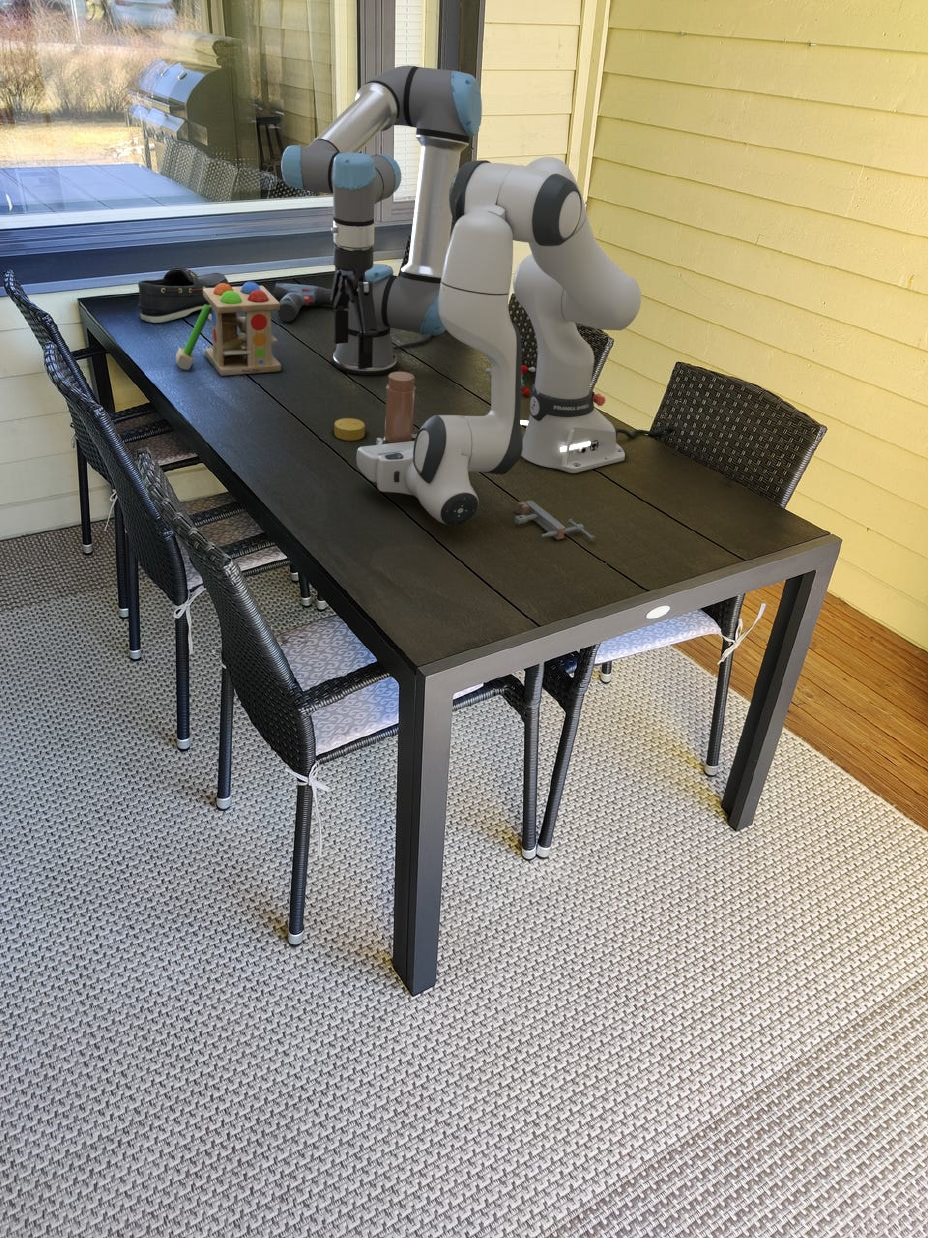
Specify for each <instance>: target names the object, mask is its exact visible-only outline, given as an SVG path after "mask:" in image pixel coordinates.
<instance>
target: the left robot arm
mask: <svg viewBox="0 0 928 1238" xmlns="http://www.w3.org/2000/svg"><path fill="white" fill-rule="evenodd" d="M482 102H483V101H482V94H481V88H480V84H479V83H478V80H477V78H476V77H475V76H474V75H472V74H470V73H467V72H462V71H457V70H454V69H453V70H450V69H442V68H441V69H440V68H432V67H422V66H416V65H408V64H407V65H401V66H396V67H393V68H389V69H386V70H385V71H383V72H381V73H379V74H377V75H375V76H373V77H372V78H371V79H369V80H368V81H366V82H365V83H364V84H363V85H362V86H361V87H359V89H358V90H357V92H356V95H355V100H354V101H353V102H352V103H351V104H350V105H349V106H348V107H346V108H345V110H343V112H342V113H340V114H339V115H338V116H337V117H336V118H335V119H334V120H333V121H332V122H331V123H330V124H329V125H328V126H327V127H325V128H324V129H323V131H322V132H320V133H319V135H317V137H316V138H314V139H313V140H312V142H310V143H309V144H308V145H307V146H303V145H302V144H299V145H289V146H287V147H286V148H285V150H284V151H283V154H282V157H281V165H280V167H281V176H282V179H283V181H284V183H285V184H286V185H287V186H288V187H291V188H294V189H299V190H302V191H308V192H316V193H322V194H328V195H332V196H333V197H332V198H333V199H332V201H333V202H332V206H333V215H332V219H333V220H332V221H333V227H331V228H330V232H331V233H332V234H333V243H334V246H333V247H332V248H333V249H332V254H333V256H332V257H333V258H332V259H333V260H332V261H333V266H334V275H333V280H332V286H331V289H332V291H331V296H330V303H331V304H333V305H332V308H333V310H334V312H333V315H334V316H333V319H334V321H333V322H334V323H333V326H334V327H333V328H334V333H333V334H334V336H333V337H334V338H333V341H334V342H333V343H334V344H335V345H336V348H334V349H333V354H332V355H333V361H332V362H333V363H332V364H333V366H334V367H335V368H337V369H338V370H339V371H342V372H344V373H347V374H352V375H356V376H380V375H381V376H382V375H386V374H390V373H392V372H394V371H395V369H396V368H397V361H398V359H397V354H396V352H395V351H396V350H397V351H398V350H401V349H402V350H403V349H407V348H411V347H416V346H420V345H422V344H425V343H428V342H429V341H430V340H431V338H432V337H433V336H434V337H435V336H440V335H443V334H444V333H445V332H446V331H447V330H446V328H445V327H444V325H443V324H442V321H441V319H440V316H439V311H438V299H439V290H440V283H441V276H442V270H443V265H444V260H445V256H446V252H447V248H448V244H449V241H450V237H451V229H452V222H453V217H452V214H451V210H450V204H449V192H450V187H451V183H452V180H453V178H454V176H455V174H456V173H457V171H458V170H459V169H460V168H459V167H460V160H461V153H462V152H463V151H464V150H465V149H466V148H467V147H468V146H469V144H470V138H471V137H472V138H473V137H475V136H477V135H478V133H479V132H480V126H481V125H482V116H483V103H482ZM393 126H402V127H410V128H416V130H415V138H416V140H417V141H418V143H419V144H420V148H421V149H420V156H419V166H418V167H419V168H418V175H417V181H416V182H417V183H416V191H415V200H414V201H415V202H414V210H413V219H412V228H411V236H410V244H409V253H408V262H407V263H405V264H404V265H403V266H402V267H401V268H400V273H399V275H396V274H395V275H394V273H395V272H394V269H393V267H392V266H391V265H388V264H385V263H384V264H383V263H374V260H375V257H374V255H375V254H374V253H375V249H374V247H373V246H374V244H375V224H376V223H375V205H376V204H377V203H380V202H382V201H384V200H386V199H389V198H390V197H392V195H393V194H394V193H396V192H397V191H398V190H399V188H400V185H401V183H402V170H401V167H400V164H399V163H398V162H397V161H396V160H395V159H394V157H393V156H391V155H388V154H385V153H380V154H379V153H378V154H376V153H375V154H372V155H370V154H366V153H363V152H362V151H363V150H364V149H365V148H366V147H367V146H368V144H369V143H370V142H371V141H373V139H374V138H375V137H376V136H377V135H378V134H379V133H380V132H385V131H388V130H389V129H391V128H392V127H393ZM335 296H336V297H335ZM391 329H396V330H401V331H406V332H411V333H417V334H420V335H422V336H423V335H427V336H426V337H425V338H424V339H421V340H418V341H414V342H409V343H408V342H407V343H403V344H400V345H395V346H394V343H393V341H392V337H391V336H392V335H391Z"/></svg>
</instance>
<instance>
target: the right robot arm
mask: <svg viewBox="0 0 928 1238" xmlns="http://www.w3.org/2000/svg"><path fill="white" fill-rule="evenodd" d="M449 204H450V210H451V214H452V221H454V226H453V228H452V232H451V234H450V238H449V244H448V248H447V252H446V256H445V260H444V265H443V270H442V276H441V283H440V290H439V299H438V311H439V316H440V319H441V321H442V324H443V325H444V327H445V328H446V330H445V331H447V332H448V334H450V335H451V336H452V337H453V338H455V339H456V340H457V341H459V342H461V343H462V344H464V345H466V346H468V347H469V348H472V349H474V350H476V351H478V352H479V353H481V354H483V355H484V356H485V357H486V359H488V361H489V364H490V369H491V370H492V372H491V379H490V380H491V381H490V386H491V388H490V390H491V391H490V392H491V393H490V394H491V395H490V396H491V397H490V410H489V412H488V413H487V414H485V415H460V414H437V415H436V414H434V415H432V416H430V417H429V418H428V419H427V420H426V421H425V422H424V423H423V424H422V425H421V427H420V428H419V429H418V431H417V433H413V441H408V442H399V443H390V444H387V440H386V439H385V438H384V437H377V438H376V444H373V445H365V446H364V445H363V446H360V447H358V448H357V450H356V455H355V456H356V467H357V468H358V470H359V471H360V472H361V474H363V476H365V478H367V480H368V481H371V482H373V483H375V484H376V486H377V490H378V491H380V492H383V493H398V494H405V495H408V496H414V497H415V498H416V499H418V501H419V503H420V505H421V506H422V507H423V508H424V510H425V511H426V512H427V513H428V514H429V515H430V516H431V517H433V519H434V520H436V521H438V522H439V523H441V524H444V525H446V526H457V525H459V526H460V525H462V524H465V523H467V522H468V521H469V520H471V519H472V518H473V517H474V516H475V515H476V514H477V511H478V510H479V507H480V502H479V501H480V500H479V497H478V495H477V493H476V491H475V490H474V488H473V486H472V485H471V482H470V476H469V473H482V474H492V475H493V474H494V475H505V474H507V473H508V472H509V471H511V470H512V469H513V467H515V465H516V464H517V463H518V462H519V461H520V459H521V457H522V458H523V459H524V460H526V461H528V462H530V463H532V464H535V465H538V466H540V467H544V468H550V469H555V470H556V469H557V470H560V471H562V472H566V473H570V474H577V473H581V472H584V471H589V470H594V469H597V468H600V467H604V466H607V465H611V464H617V463H620V462H623V461H625V458H626V453H625V451H624V449H623V448H622V447H621V445H619V444H618V443H617V437H618V433H619V434H624V435H625V436H626V437H628V438H630V439H634V438H635V437H636V436H637V435H640V434H641V435H646V436H658V435H660V434H662V433H664V432H666V431H667V430H669V431H670V432H672V433H673V432H676V431H675V428H674V427H673V426H672V428H670V429H668V428H669V427H668V426H669V425H665V426H663V427H661V428H660V429H658V430H654V431H652V430H646V429H635V430H633V431H632V433H631V432H629V431H628V430H626V429H623V428H615V427H614V425H613V423H612V422H611V421H609V419H608V418H607V417H605V416H604V415H603V414H602V413H601V412H600V411H599V410H598V409H597V408H596V407H595V404H596V405H597V406H598V407H602V406H604V405H605V404H606V397H605V396H603V395H602V394H601V393H595V391H594V390H592V389H591V384H592V378H593V372H594V365H595V353H594V351H593V349H592V347H591V345H590V344H589V343H588V342H587V341H586V340H585V339H584V338H583V337H582V336H581V334H580V332H579V330H578V327H577V325H580V326H584V327H588V328H591V329H595V330H602V331H603V330H605V331H623V330H625V329H626V328H628V327H629V326H630V325H631V324H632V323H633V322H634V321H635V320H636V318H637V316H638V314H639V312H640V309H641V304H642V293H641V292H642V291H641V288H640V285H639V282H638V281H637V280H636V279H635V278H634V277H632V276H631V275H629V274H628V273H626V272H625V271H624V270H623V269H621V268H620V267H619V266H618V265H617V264H616V263H615V262H614V261H613V260H612V259H611V257H610V256H608V254H607V253H606V252H605V250H604V249H603V248H602V246H601V245H600V243H599V242H598V241H597V239H596V237H595V235H594V232H593V229H592V225H591V222H590V219H589V215H588V211H587V207H586V203H585V200H584V197H583V194H582V191H581V189H580V187H579V185H578V181H577V180H576V178H575V176H574V174H573V172H572V170H571V169H570V167H569V165H568V164H567V163H565V162H564V161H563V160H561V159H559V158H557V157H553V156H543V157H539V158H536V159H534V160H532V161H530V162H529V163H528V164H527V165H523V164H519V165H517V164H512V163H502V162H491V161H489V160H486V159H485V160H483V159H482V160H481V159H480V160H479V159H478V160H470V161H467V162H465V163H464V164H462V165H461V166H460V168H458V171H457V173H456V174H455V176H454V178H453V180H452V183H451V187H450V192H449ZM514 242H521V243H528V246H529V249H530V252H531V254H529V255H527V256H526V257H524V258H523V259H522V260H521V261H520V262H519V264H518V265H517V267H516V268H515V269H516V270H515V271H514V275H513V265H514V264H513V263H514ZM512 276H513V280H512ZM511 285H512V287H513V294H514V296H515V299H516V301H517V302H518V303H519V305H520V306H521V307H522V308H523V309H524V311H525V312H526V314H527V316H528V318H529V321H530V322H531V325H532V328H533V331H534V336H535V340H536V347H537V348H536V350H537V358H536V368H535V379H534V384H532V387H531V391H530V399H529V400H530V401H529V416H528V419H527V420H523V419H522V418H521V412H522V409H521V407H522V406H521V405H522V403H521V402H522V389H521V386H522V385H521V373H522V366H523V365H522V363H523V361H522V360H523V356H522V354H523V353H522V349H523V348H522V338H521V333H520V330H519V327H518V326H517V325H516V324H515V323H513V322H512V318H511V315H510V310H509V309H510V307H509V298H510V291H511ZM522 425H523V426H526V428H525V430H524V434H523V432H522V431H523V429H522Z"/></svg>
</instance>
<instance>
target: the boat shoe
mask: <svg viewBox="0 0 928 1238" xmlns="http://www.w3.org/2000/svg"><path fill="white" fill-rule="evenodd" d="M221 283H226V284H228V285H230V282H229V280H228V279H227V277H226V276H225V274H223V273H220V272H211V273H205V274H201V275H198V274H197V273H195V272H194V271H192V270H190V269H189V268H182V267H180V266H176V267H173V268H171V269H170V270H168V271H167V272H166V273H165V274H164V276H163V277H162V278H158V279H143V280H139V281H138V282H137V285H138V286H137V287H138V293H139V294H138V295H139V296H138V301H139V302H138V303H137V307H139V308H140V319H141V320H143V321H145V322H148V323H152V324H158V323H160V324H161V323H166V322H170V321H173V320H177V319H181V318H184V317H187V316H188V315H190V314H191V313H193V312H196V311H199V310H202V309H203V307H204V305H208V306H210V307H211V305H210V304H209V302H208V301H207V300H206V299H205V297H204V296H203V289H204V288H215V287H216V286H217V285H218V284H221Z"/></svg>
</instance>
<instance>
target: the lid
mask: <svg viewBox="0 0 928 1238" xmlns="http://www.w3.org/2000/svg"><path fill="white" fill-rule="evenodd" d="M333 434H334V436H335V438H338V439H340V440H343V441H359V440H362V439H364V437H365V435H366V424H365V423H364V421H362V420H360V419H357V418H352V417H351V418H349V417H344V418H339V419H337V420H335V422H334V426H333Z"/></svg>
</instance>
